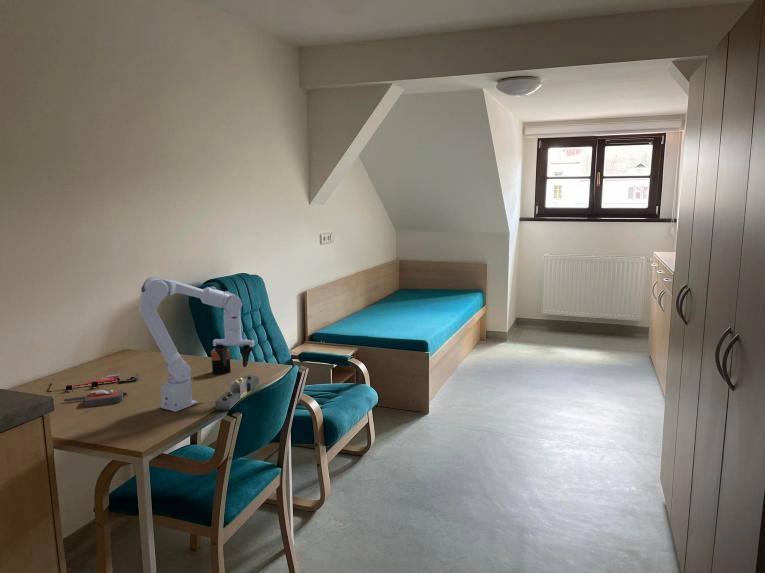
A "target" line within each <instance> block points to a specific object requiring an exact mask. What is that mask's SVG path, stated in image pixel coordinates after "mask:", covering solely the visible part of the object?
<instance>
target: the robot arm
mask: <svg viewBox="0 0 765 573" xmlns="http://www.w3.org/2000/svg"><path fill="white" fill-rule="evenodd" d="M175 294H182V295H186V296H189V297H194V298H197V299H200V301H201V303H202V304H205V305H208V306H212V307H216V308H219V309H223V328H224V338H221V339H219V338H215V339H213V340H212V345H213V347H214V349H215V351H216V352H217V353H218V355H219V357H220V359H221V362H222V365H223V366H226V365H227V348H228V347H229V346H230V347H241V348H240V352H241V357H242V366H243V368H246V367H247V366H248V362H249V357H250V354H251V352H252V349H253V347H255V346H256V344H255V340H254V339H245V338H243V337H242V336H243V335H242V334H243V333H242V318H241V317H242V315H241V309H242V307H243V302H242V300H241V298H240V297H239V296H238V295H236V294H234V293H232V292H229V291H227V290H225V291H223V290H219V289H217V288H216V287H215V286H211V287H209V286H206V287H205V288H203V289H202V288H199V287H196V286H194V285H190V284H187V283H184V282H180V281H178V280H173V279H170V278H163V277H162V278H160V277H157V276H150V277H148V278H146V279H145V281H144V282H143V284H142V286H141V288H140V296H139V297H140V299H139V303H138V310H139V313H140V315H141V317H142V319H143V321H144V322H145V324H146V326H147V328H148V330H149V332H150V334H151V335H152V337H153V339H154V341H155V342H156V345H157V346H158V348H159V351H160V352H161V354H162V356H163V358H164V362H165V363H166V364H165V365H166V366H165V369H166V371H167V373H168V374H169V375H168V378H167V381H166V382H165V383H164V384H162V385H161V386H160V389H159V390H160V392H159V393H160V402H161V403H160V404H161V405H160V408H161V409H163V410H168V411H172V412H178V411H181V410H184V409H187V408H188V407H191V406H194V405H196V404H198V403H199V401H198V400H193V392H192V380H191V375H192V369H191V367H190V366H191V365H189V364H187V362H186V361H185V359H184V358H182V356H181V354H180V352H178V349H177V347H176V345H175V344H174V341H173V339H172V338H171V336H170V334H169V332H168V330H167V328H166V326H165V324H164V323H163V320H162V319H161V316H160V314H159V313H158V311H157V310H158V308H159V306H160V304H161V302H162V301H163V300H164V299H165V298H166V297H167V295H169V296H172V295H173V296H174V295H175Z"/></svg>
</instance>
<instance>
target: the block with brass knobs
mask: <svg viewBox="0 0 765 573" xmlns="http://www.w3.org/2000/svg"><path fill="white" fill-rule="evenodd" d="M229 384H230V385H229V386H230V392H233V393H239V394H240V398H241V397H242V396H243V395H244V394H246V393H247V380H246V379H243V377H242V376H240V377H238V378H236V379H234V380H233V381H232V382H231V383H229Z"/></svg>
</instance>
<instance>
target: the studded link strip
mask: <svg viewBox="0 0 765 573" xmlns="http://www.w3.org/2000/svg"><path fill="white" fill-rule="evenodd" d="M242 378H243V379H246V380H247V393H246V394H244V395H243V396H242V397H241V398H243V397H244V398H245V397H246V396H247V395H248V394H249V393H250V392H252V391H253V390H254V389H255V388H256V387H257V386H258V385H259V384H260V383H259V376H258V375H251V374H250V375H245V376H243V377H242ZM257 384H258V385H257ZM256 385H257V386H256ZM255 386H256V387H255ZM254 387H255V388H254ZM253 388H254V389H253ZM252 389H253V390H252ZM241 398H240V394H239V393H233V392H231V391H228V392H224V393H222V395H221V396H219V397H218V398H217V399H215V403H214V404H215V410H220V411H221V410H223V411H226V410H227V411H231V410H232V409H233V408H234V407H235V406H236V405H237V404H238V403H239V402H238V401H239V400H240V399H241ZM244 398H243V399H244ZM237 402H238V403H237ZM236 403H237V404H236ZM235 404H236V405H235ZM234 405H235V406H234ZM233 406H234V407H233ZM232 407H233V408H232ZM231 408H232V409H231ZM230 409H231V410H230Z"/></svg>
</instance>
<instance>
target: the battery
mask: <svg viewBox="0 0 765 573" xmlns="http://www.w3.org/2000/svg"><path fill="white" fill-rule="evenodd" d="M210 350H211V351H210V355H211V368H212V371H211V372H212V374H213V375H220V373H222V374H228V373H231V356H230V355H231V353H230V349H229V348H228V347H227V365H226V366H223V365H222V362H221V359H220V357H219V355H218V353H217V352H216V351H215V348H213V349H210Z"/></svg>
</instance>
